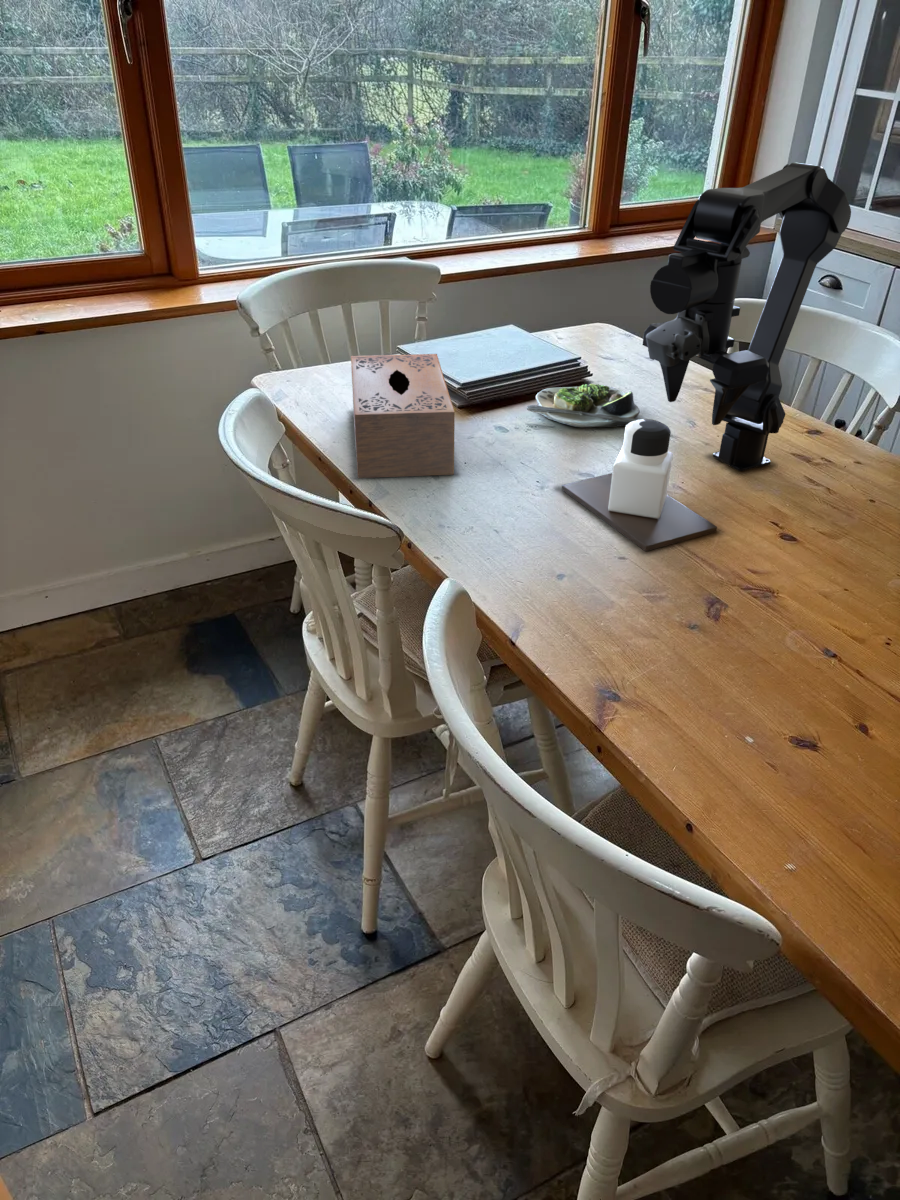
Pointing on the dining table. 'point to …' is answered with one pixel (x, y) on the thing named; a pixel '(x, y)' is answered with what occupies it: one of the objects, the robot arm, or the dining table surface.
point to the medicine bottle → (642, 470)
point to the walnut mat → (640, 530)
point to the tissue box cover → (402, 416)
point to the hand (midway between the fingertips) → (693, 412)
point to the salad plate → (586, 406)
